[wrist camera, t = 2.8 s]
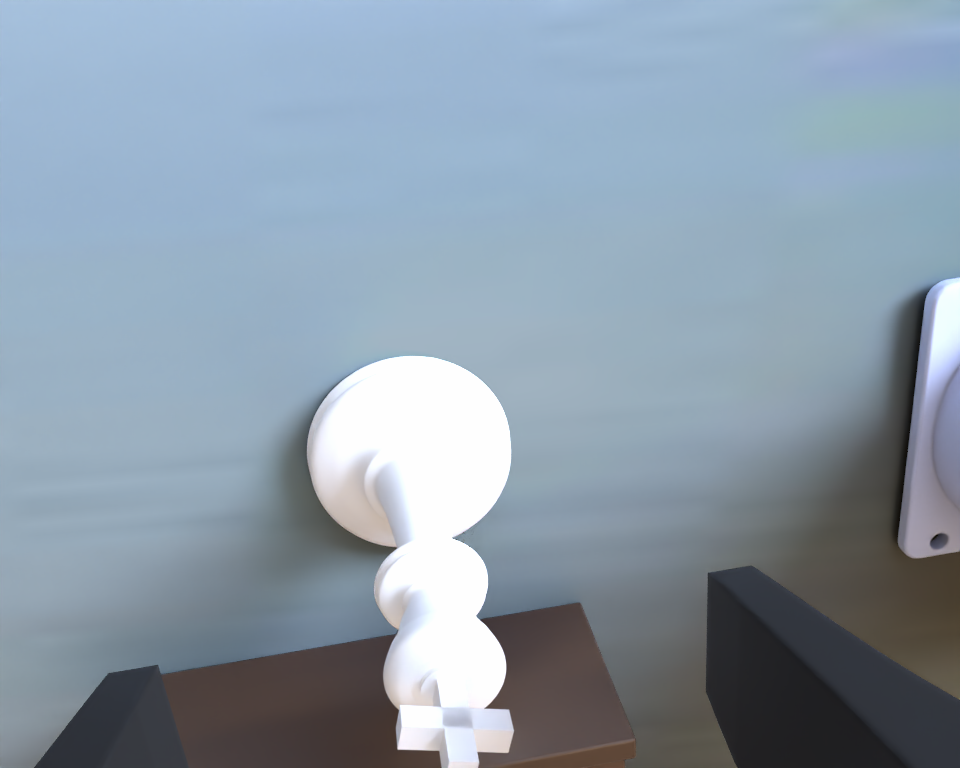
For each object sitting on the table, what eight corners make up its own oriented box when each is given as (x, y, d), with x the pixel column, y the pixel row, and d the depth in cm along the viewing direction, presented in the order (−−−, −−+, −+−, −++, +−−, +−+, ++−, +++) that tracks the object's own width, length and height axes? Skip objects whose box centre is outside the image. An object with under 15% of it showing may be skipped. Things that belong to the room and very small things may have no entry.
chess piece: (489, 542, 23) (586, 895, 14) (296, 527, 22) (267, 896, 13) (527, 368, 21) (668, 642, 12) (319, 343, 20) (304, 621, 11)
